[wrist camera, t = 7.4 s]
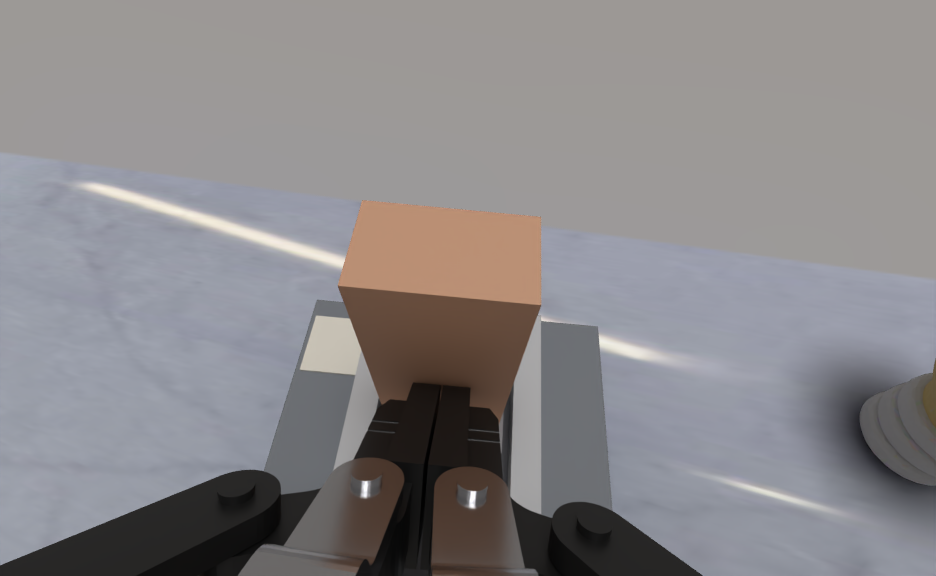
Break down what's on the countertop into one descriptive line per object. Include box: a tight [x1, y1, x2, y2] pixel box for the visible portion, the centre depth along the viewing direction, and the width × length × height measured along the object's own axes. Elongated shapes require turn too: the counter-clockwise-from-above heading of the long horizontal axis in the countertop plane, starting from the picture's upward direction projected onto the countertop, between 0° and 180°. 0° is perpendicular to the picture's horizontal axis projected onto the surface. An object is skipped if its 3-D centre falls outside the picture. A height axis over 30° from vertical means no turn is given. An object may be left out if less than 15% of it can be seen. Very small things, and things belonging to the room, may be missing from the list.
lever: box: [338, 200, 541, 453], centre depth 13 cm, size 4×3×10 cm
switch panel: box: [264, 300, 612, 576], centre depth 17 cm, size 12×11×3 cm
